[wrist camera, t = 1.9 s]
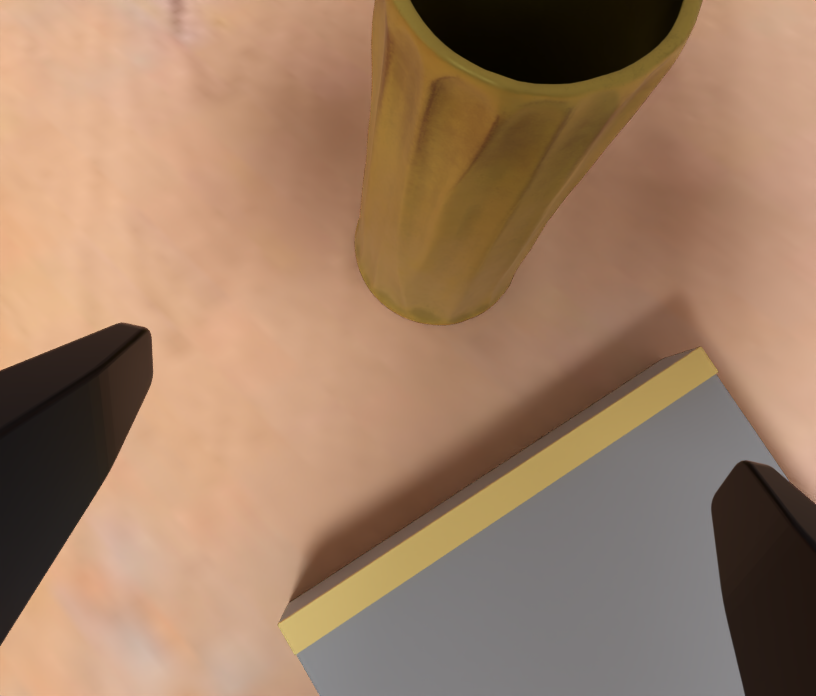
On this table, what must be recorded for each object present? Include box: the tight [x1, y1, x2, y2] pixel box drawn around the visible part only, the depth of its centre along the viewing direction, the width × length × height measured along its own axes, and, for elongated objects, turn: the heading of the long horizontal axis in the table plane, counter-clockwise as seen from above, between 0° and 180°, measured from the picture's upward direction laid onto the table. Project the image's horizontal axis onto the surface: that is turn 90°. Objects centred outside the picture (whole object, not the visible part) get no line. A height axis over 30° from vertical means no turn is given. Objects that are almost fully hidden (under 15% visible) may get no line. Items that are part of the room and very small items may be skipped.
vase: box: [355, 0, 703, 325], centre depth 17 cm, size 6×6×14 cm
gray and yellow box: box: [278, 347, 789, 696], centre depth 20 cm, size 16×12×3 cm
